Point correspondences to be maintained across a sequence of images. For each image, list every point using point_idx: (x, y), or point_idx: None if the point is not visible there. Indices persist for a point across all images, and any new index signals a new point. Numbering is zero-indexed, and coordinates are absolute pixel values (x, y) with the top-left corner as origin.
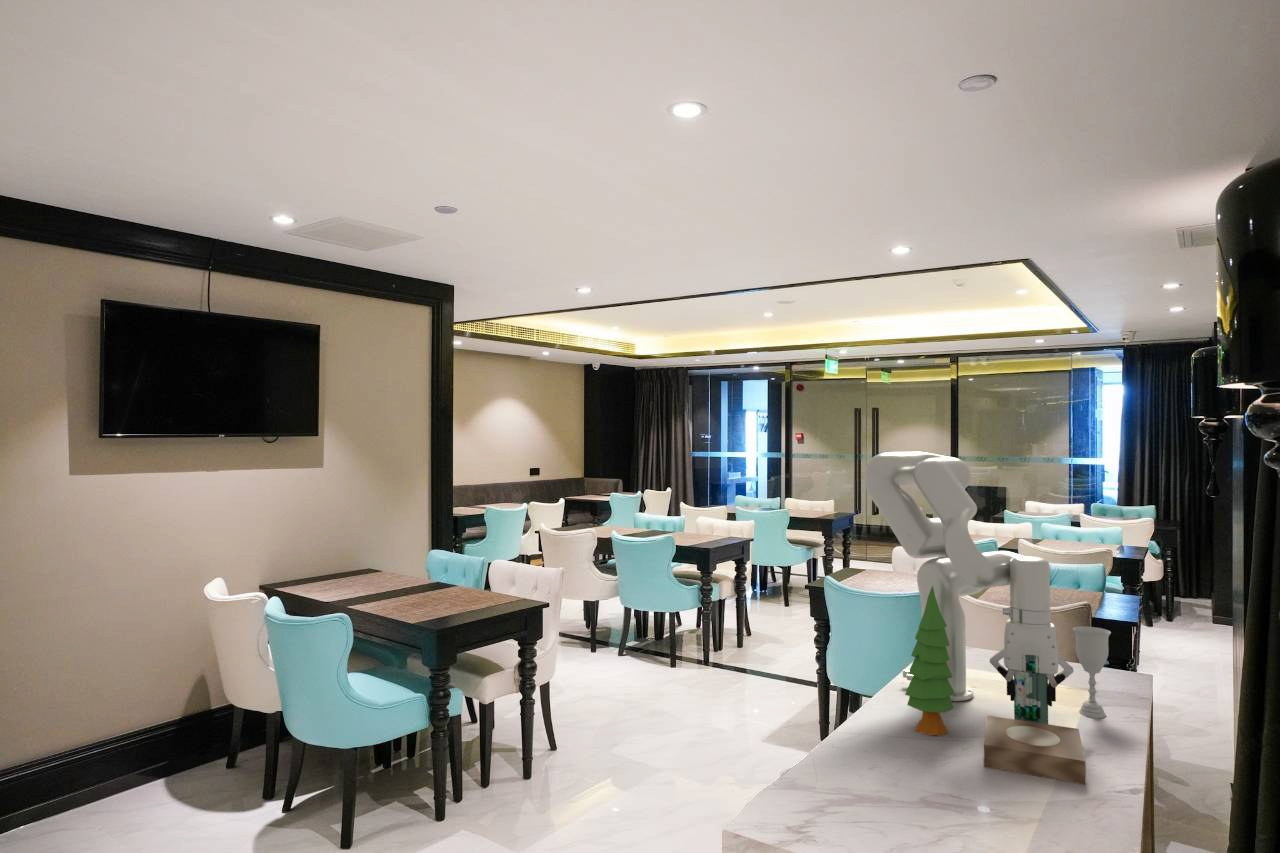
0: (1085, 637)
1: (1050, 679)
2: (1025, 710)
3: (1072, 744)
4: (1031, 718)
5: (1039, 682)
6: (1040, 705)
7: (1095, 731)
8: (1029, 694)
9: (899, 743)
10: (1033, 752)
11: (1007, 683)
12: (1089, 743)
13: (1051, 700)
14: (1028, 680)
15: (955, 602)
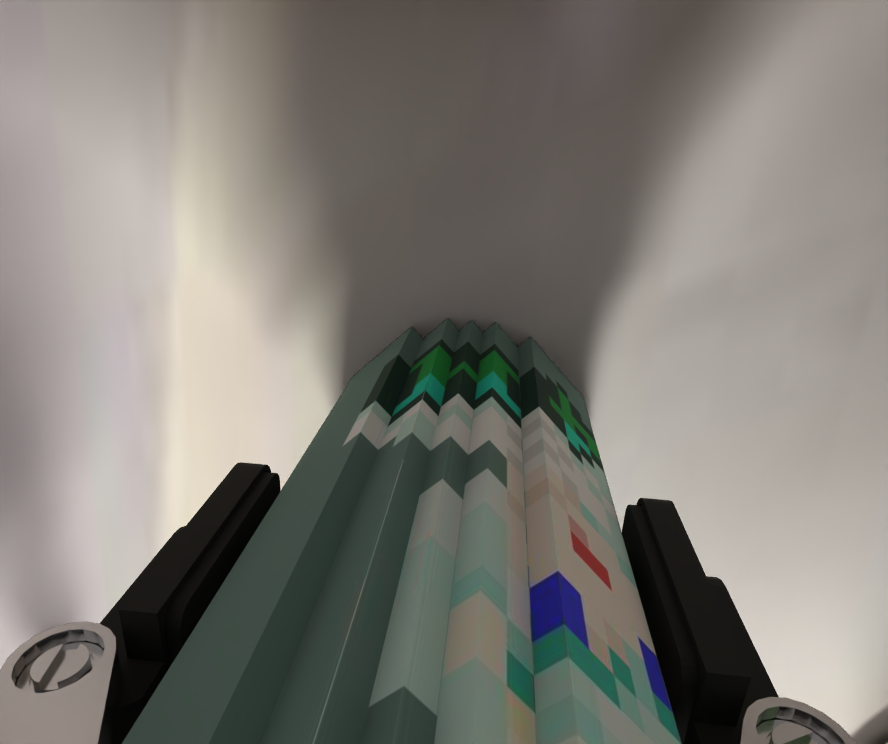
0: None
1: (53, 736)
2: (513, 398)
3: None
4: (462, 349)
5: (257, 616)
6: (353, 421)
7: (39, 430)
8: (462, 481)
9: None
10: None
11: (765, 691)
12: (43, 147)
13: (217, 493)
14: (459, 634)
15: None
